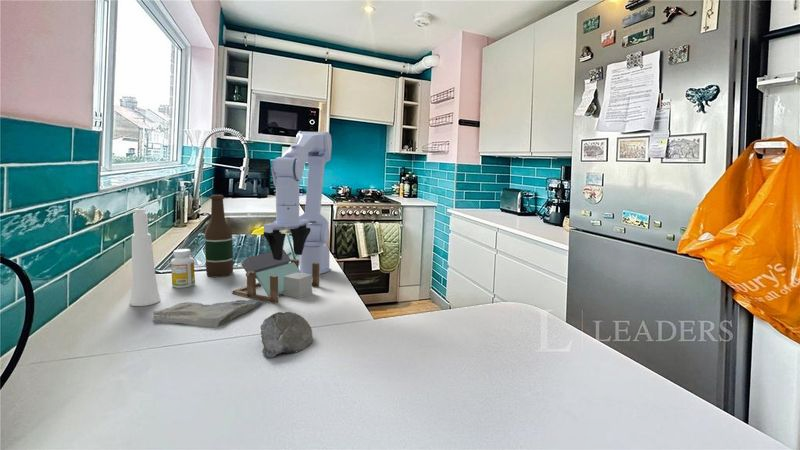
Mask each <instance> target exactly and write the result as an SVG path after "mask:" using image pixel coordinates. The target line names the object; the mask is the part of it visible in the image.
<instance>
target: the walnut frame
mask: <svg viewBox="0 0 800 450" xmlns="http://www.w3.org/2000/svg"><path fill="white" fill-rule="evenodd" d="M293 262H294V263H295V264H296V266H297V267H298V269H299V270H300V258H297V259H291V261H290V263H293ZM245 277H246V286H243V287H240V288H235V289H234V290H232V291H231V292H232V294H233V295H237V296H240V297H245V298H251V299H253V300H257V301H262V302H263V301H264V302H268V303H271V304H277V303H279V294H278V276H275V275H272V276H270V297H269V296H268V295H262V294H258V293H257V288H259V287H262V286H261V285H260V283H259V282H257V279H256V272H253V271H247V272H245ZM312 287H314V288H315V287H316V288H318V287H320V274H319V263H312Z"/></svg>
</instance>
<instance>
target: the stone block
mask: <svg viewBox="0 0 800 450" xmlns="http://www.w3.org/2000/svg"><path fill="white" fill-rule="evenodd" d="M312 293H313V286H312V275H310V274H304V273H298V272H296V273H293V274H290V275H287V276H284V292H283V296H287V297H293V298H297V299H300V298H303V297H306V296H309V295H311V294H312Z"/></svg>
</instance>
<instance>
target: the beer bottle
mask: <svg viewBox="0 0 800 450" xmlns="http://www.w3.org/2000/svg"><path fill="white" fill-rule="evenodd" d="M210 199H211V204H210V205H211V206H210V207H211V211H210V221H209V223H208V225H207V226H206V228H205V232H204V245H205V246H204V252H205V254H204V255H205V271H206V275H207V276H208V277H213V278H219V277H227V276H230V275H233V273H234V254H233V252H234V249H233V246H234V245H233V234H232V229H231V227H230V226H229V224H228V223H227V222H226V221H227V220H226V218H225V216H226V215H225V207H224V199H225V197H224V195H223V194H211V196H210Z"/></svg>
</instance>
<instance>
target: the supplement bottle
mask: <svg viewBox="0 0 800 450" xmlns="http://www.w3.org/2000/svg"><path fill="white" fill-rule="evenodd" d="M191 254H192V251H191V249H190V248H179V249H178V248H177V249H175V250H173V257H174V258H171V260H170V266H171V267H170V269H171V284H172V287H173V288H176V289H181V288H182V289H183V288H189V287H192V286H194V285H195V284H196V282H195V281H196V278H195V277H196V276H195V261H194V258H193V257H192V256H191Z"/></svg>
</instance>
